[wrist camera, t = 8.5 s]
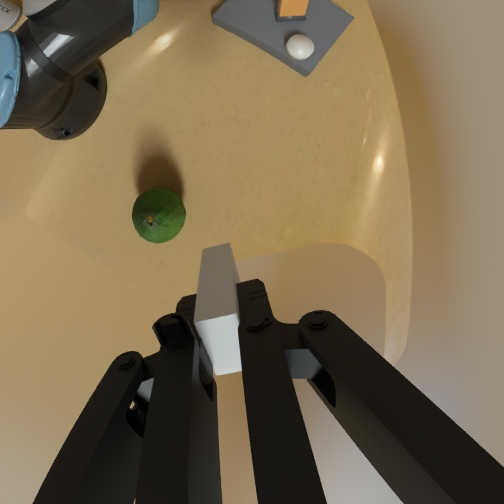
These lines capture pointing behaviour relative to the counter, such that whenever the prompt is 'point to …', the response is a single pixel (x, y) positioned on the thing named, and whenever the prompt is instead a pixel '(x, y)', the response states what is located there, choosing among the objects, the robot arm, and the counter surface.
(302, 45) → the push button
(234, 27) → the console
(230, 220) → the counter surface
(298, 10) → the paddle switch
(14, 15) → the travel mug
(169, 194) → the avocado
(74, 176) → the counter surface
